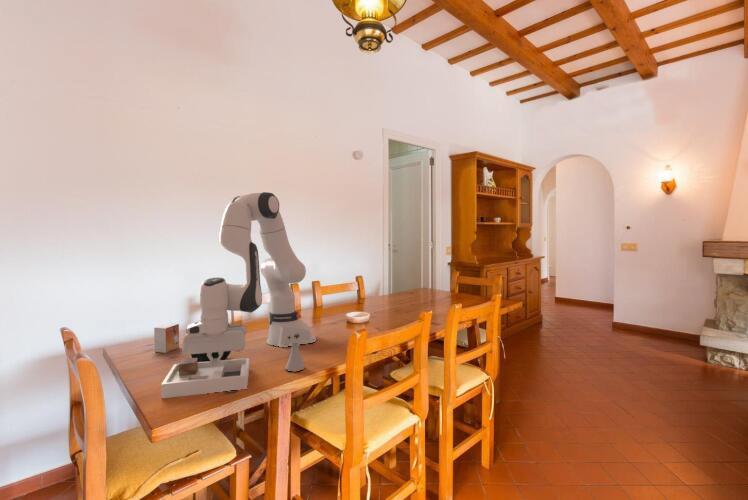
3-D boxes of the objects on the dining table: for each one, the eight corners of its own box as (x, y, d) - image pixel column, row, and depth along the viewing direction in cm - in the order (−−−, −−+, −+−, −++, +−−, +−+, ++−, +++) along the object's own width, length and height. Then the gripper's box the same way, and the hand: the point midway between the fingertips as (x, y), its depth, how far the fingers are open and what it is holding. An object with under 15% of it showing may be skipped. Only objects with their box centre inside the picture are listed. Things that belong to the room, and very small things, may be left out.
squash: (181, 358, 131) (211, 324, 135) (184, 347, 145) (211, 317, 148) (213, 379, 135) (241, 346, 139) (213, 367, 149) (239, 337, 153)
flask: (295, 374, 132) (295, 347, 131) (281, 370, 135) (281, 344, 135) (308, 368, 138) (309, 342, 137) (294, 364, 142) (295, 339, 141)
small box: (165, 353, 151) (165, 328, 150) (154, 352, 152) (153, 327, 151) (179, 347, 159) (179, 323, 158) (168, 346, 160) (168, 322, 159)
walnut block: (197, 368, 128) (197, 357, 127) (195, 374, 123) (195, 362, 123) (181, 370, 126) (181, 359, 126) (178, 375, 121) (178, 364, 121)
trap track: (249, 369, 135) (249, 358, 135) (247, 389, 119) (247, 376, 119) (174, 376, 128) (174, 364, 128) (161, 398, 112) (161, 384, 111)
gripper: (246, 320, 132) (247, 357, 133) (184, 324, 126) (185, 363, 127) (245, 325, 126) (246, 364, 127) (180, 329, 120) (181, 370, 121)
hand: (215, 363), depth 127 cm, fingers closed
